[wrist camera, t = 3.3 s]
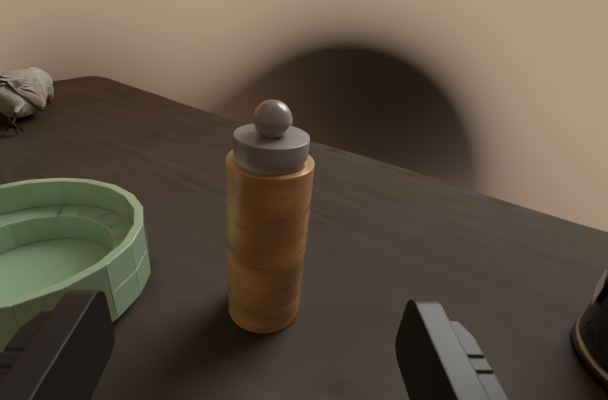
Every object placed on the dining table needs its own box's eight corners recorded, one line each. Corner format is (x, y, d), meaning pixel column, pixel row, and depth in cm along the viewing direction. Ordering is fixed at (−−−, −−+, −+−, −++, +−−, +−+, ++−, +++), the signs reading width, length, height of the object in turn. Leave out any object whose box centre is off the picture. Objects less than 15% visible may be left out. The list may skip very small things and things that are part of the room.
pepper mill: (297, 282, 28) (316, 92, 21) (299, 334, 23) (326, 118, 16) (232, 280, 27) (230, 85, 20) (224, 333, 23) (217, 110, 16)
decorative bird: (69, 103, 60) (57, 54, 56) (24, 137, 46) (5, 76, 42) (31, 101, 59) (18, 52, 55) (-26, 137, 45) (-49, 74, 41)
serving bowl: (172, 234, 31) (167, 183, 29) (106, 385, 19) (87, 318, 17) (0, 227, 30) (-21, 173, 28) (-184, 384, 18) (-251, 312, 16)
